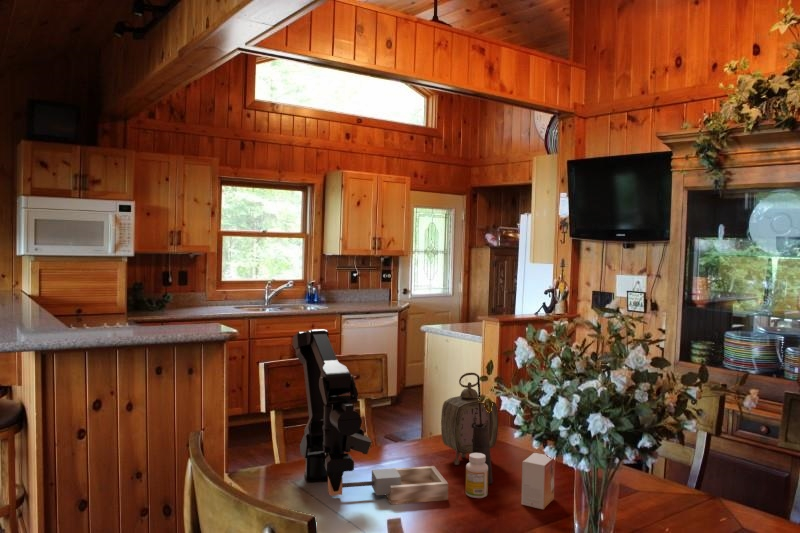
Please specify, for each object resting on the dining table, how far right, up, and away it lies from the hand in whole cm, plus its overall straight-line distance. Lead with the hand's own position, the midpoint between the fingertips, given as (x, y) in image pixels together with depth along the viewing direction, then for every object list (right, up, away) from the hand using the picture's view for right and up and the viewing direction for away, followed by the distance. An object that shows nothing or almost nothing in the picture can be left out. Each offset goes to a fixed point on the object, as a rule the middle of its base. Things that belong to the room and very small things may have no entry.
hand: (334, 487), depth 151 cm
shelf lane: (+19, -3, +5) cm, 20 cm away
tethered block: (+7, -1, +2) cm, 7 cm away
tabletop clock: (+35, -2, +29) cm, 45 cm away
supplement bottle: (+34, -3, +4) cm, 35 cm away
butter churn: (+37, -3, +13) cm, 40 cm away
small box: (+49, -4, 0) cm, 49 cm away
